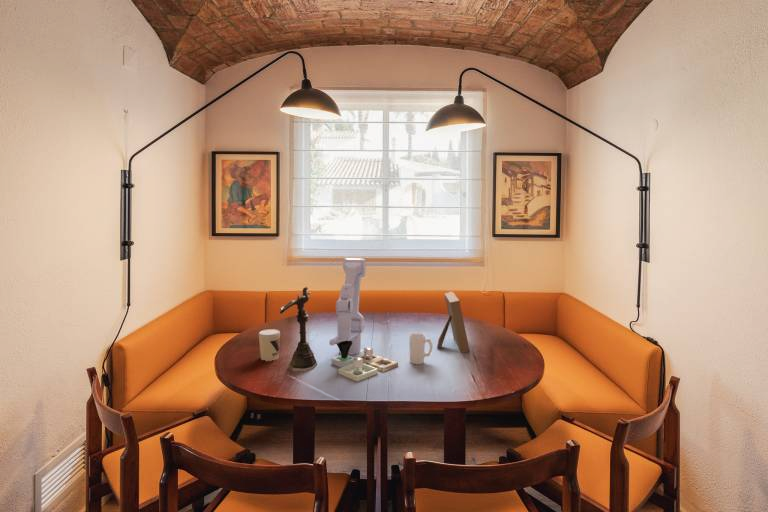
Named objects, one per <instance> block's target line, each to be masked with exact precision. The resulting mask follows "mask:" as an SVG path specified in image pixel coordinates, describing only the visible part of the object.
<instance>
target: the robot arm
mask: <svg viewBox="0 0 768 512" xmlns="http://www.w3.org/2000/svg"><path fill="white" fill-rule="evenodd" d="M366 266H367V265H366V259H365V258H349V257H345V258H344V259H343V261H342V269H343V271H344V273H345V280H344V284H343V285H342V286H341V289H340V292H339V293H340V294H339V297H338V299H337V300H336V301H335V312H336V317H337V336H336V337H334V338H331V339H330V340H329V345H330V346H335V345H337V347H338V350H339V352H340V355H341V357H342V358H344V359H345V358H347V356H348V355H351V356H352V355H356V354H359V353H362V352H364V349H362V345H361V344H362V342H361V341H362V340H361V339H362V338H361V337H362V335H361V334H362V333H363V332H364V330H365V318H364V317H365V316H363V314H361V313H360V311H359V309H360V293H361V281H362V278H363V277H365V276H366Z"/></svg>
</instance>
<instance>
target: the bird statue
mask: <svg viewBox="0 0 768 512" xmlns="http://www.w3.org/2000/svg"><path fill="white" fill-rule="evenodd" d="M308 289H309V288H308V287H307V286H306V287H304V288H303V289H302V295H301V294H300V293H299V292H297V294H296V297H297V298H296V299H293V300H290V301H289V302H287V303H286V304H285V305H283V306H282V307H280V308H279V311H280V312H279V314H280V315H282V314H283V313H284V312H285V311H287V310H288V309H290V308H291V307H293V306H295V305H296V306H297V307H296V308H297V310H298V311H297V315H296V316H295V317H296V321H297V323H299V332H298V333H299V341H298V342H297V346H296V348H295V351H294V352H293V353H292V357H291V360H290V362H289V363H288V366H287V367H288V369H289V370H290V371H291V372H292V371H293V372H305V371H311V370H314V369H315V368H316V367H317V365H318V362H317V360H316V357H315V355H314V354H315V353H314V352H313V350H312V348H311V346H310V344H309V342H308V341H307V331H306V326H307V325H306V324H307V322H309V319H308V318H309V317H310V316H309V314H308V311H307V310H306V309H305V308H304V307H305V304H306V303H307V302H309V300H310V297H309V295H310V294H311V293H312V292H311V291H309V292H308ZM293 372H292V373H293Z"/></svg>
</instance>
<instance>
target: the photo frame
mask: <svg viewBox="0 0 768 512" xmlns="http://www.w3.org/2000/svg"><path fill="white" fill-rule="evenodd" d="M444 298H445V303H446V308H447V312H448V319H447V321H446V323H445V326H444V327H443V329H442V331H441V334H440V336H439V338H438V341H437V346H436V349H440V348H441V347H443V344H444V341H445V339H446V335H447V332H448V329H449V326H450V327H451V331H452V336H453V339H454V341H455V344H456V345H457V348H458V350H459V353H461V354H462V353H466V352H470V345H469V342H468V341H469V340H468V337H467V331H466V326H465V322H464V318H463V317H464V316H463V312H462V307H461V303H460V299H459V298H458V297H457V295H456V294H455V293H454V291H449V292H444Z"/></svg>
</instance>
